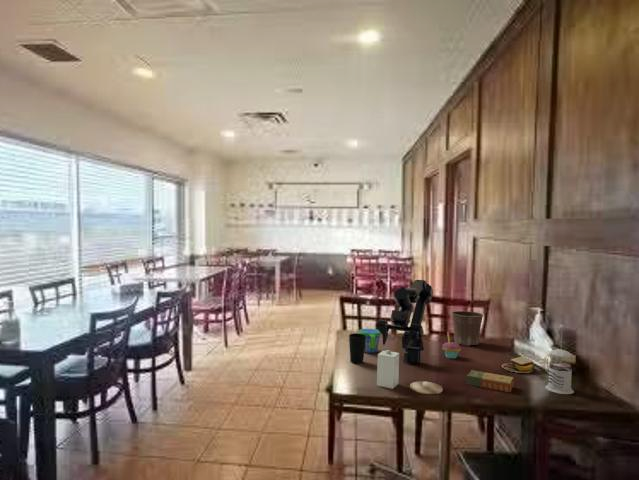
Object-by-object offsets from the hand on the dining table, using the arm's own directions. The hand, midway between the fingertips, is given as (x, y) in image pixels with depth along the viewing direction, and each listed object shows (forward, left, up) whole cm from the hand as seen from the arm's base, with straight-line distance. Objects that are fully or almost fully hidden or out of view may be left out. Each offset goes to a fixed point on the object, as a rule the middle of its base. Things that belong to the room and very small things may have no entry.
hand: (394, 346), depth 179 cm
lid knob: (-6, +13, -13) cm, 19 cm away
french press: (-55, +29, -13) cm, 64 cm away
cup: (+4, -25, -13) cm, 29 cm away
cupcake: (-43, -19, -13) cm, 49 cm away
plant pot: (-68, -38, -13) cm, 80 cm away
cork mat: (-6, +13, -13) cm, 19 cm away
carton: (-32, +18, -14) cm, 39 cm away
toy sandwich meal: (-59, +5, -14) cm, 61 cm away
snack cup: (-10, -39, -13) cm, 43 cm away
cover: (+6, +5, -13) cm, 15 cm away
